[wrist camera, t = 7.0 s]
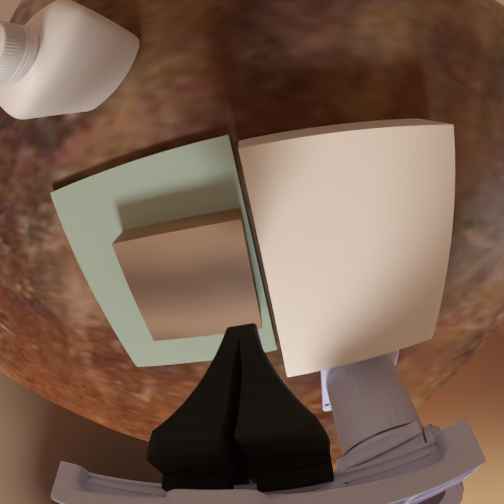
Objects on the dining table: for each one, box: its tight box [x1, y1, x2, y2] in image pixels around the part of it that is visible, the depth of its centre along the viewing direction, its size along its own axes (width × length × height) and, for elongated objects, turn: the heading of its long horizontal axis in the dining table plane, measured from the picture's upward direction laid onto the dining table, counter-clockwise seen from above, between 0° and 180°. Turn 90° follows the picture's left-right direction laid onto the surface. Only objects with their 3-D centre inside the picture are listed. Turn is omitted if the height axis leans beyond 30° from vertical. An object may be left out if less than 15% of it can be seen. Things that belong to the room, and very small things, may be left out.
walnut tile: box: [112, 208, 262, 341], centre depth 19 cm, size 8×8×2 cm
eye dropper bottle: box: [0, 0, 140, 119], centre depth 8 cm, size 4×6×12 cm
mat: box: [50, 134, 277, 367], centre depth 20 cm, size 17×13×1 cm
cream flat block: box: [238, 118, 455, 377], centre depth 18 cm, size 16×12×4 cm
